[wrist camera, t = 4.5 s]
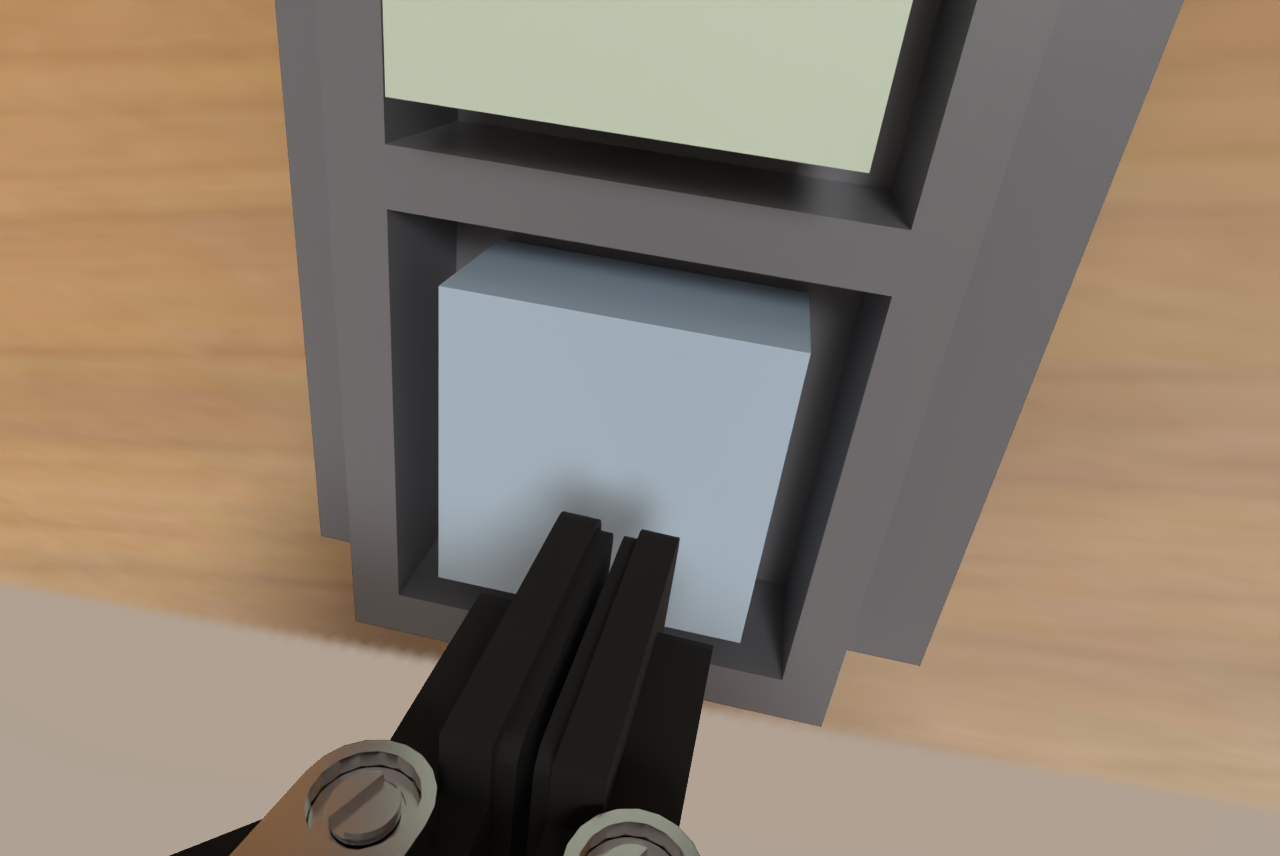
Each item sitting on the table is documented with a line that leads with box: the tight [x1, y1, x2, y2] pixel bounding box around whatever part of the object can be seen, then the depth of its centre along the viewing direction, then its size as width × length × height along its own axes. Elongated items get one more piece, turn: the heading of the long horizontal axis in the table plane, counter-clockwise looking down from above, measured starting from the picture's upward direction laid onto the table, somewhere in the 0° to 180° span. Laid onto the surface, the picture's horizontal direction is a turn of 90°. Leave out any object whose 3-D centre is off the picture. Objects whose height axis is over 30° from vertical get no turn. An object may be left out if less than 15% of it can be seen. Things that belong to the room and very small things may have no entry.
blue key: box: [438, 239, 811, 643], centre depth 15 cm, size 6×6×3 cm
